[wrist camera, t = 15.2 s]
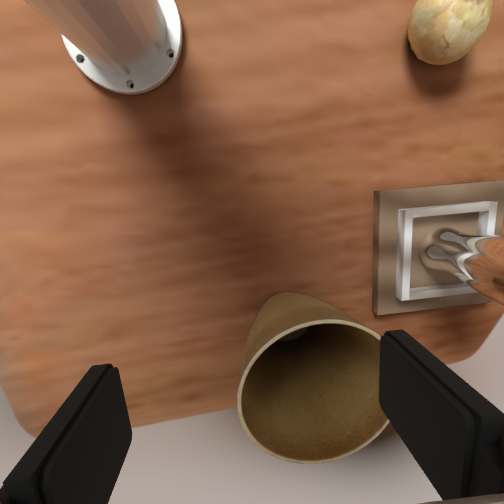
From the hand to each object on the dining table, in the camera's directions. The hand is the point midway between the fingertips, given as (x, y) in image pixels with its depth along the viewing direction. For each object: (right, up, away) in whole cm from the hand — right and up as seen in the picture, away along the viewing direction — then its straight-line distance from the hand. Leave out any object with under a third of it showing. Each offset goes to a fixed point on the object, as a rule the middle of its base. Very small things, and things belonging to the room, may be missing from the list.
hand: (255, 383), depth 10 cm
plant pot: (+5, -5, +31) cm, 32 cm away
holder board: (+25, +5, +30) cm, 39 cm away
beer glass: (+25, +5, +29) cm, 38 cm away
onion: (+21, +30, +24) cm, 44 cm away
